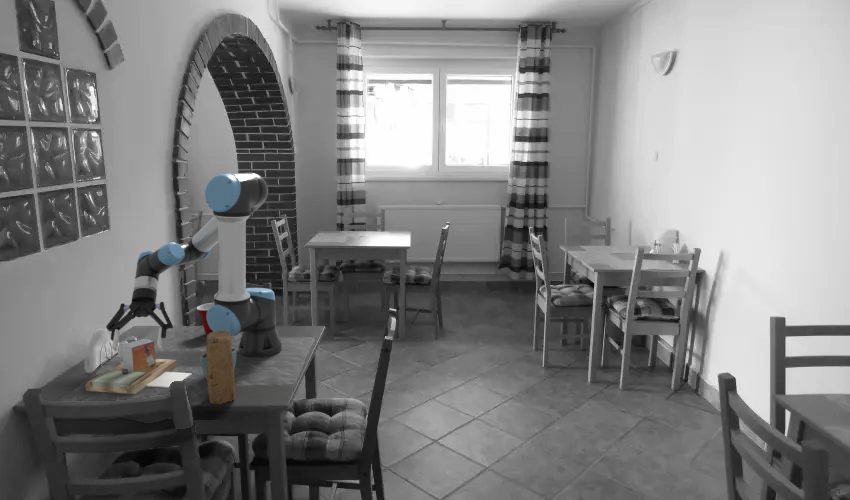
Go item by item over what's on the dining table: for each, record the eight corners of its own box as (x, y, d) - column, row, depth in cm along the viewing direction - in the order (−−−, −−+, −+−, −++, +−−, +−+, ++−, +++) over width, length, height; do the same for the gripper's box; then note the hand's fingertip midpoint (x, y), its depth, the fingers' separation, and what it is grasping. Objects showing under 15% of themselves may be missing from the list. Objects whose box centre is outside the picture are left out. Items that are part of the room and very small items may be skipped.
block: (236, 404, 168) (232, 337, 164) (208, 407, 165) (204, 340, 162) (234, 389, 178) (231, 326, 174) (208, 392, 175) (204, 329, 172)
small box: (133, 379, 185) (131, 347, 183) (123, 375, 188) (120, 344, 186) (157, 371, 192) (154, 340, 190) (146, 367, 194) (144, 337, 193)
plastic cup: (206, 329, 235) (205, 300, 233) (232, 330, 234) (230, 301, 232) (192, 337, 225) (190, 307, 223) (219, 339, 223) (217, 309, 221)
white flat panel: (191, 374, 189) (191, 373, 189) (173, 388, 178) (173, 387, 178) (166, 372, 190) (165, 371, 190) (146, 386, 179) (145, 385, 179)
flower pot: (212, 374, 190) (210, 347, 188) (238, 374, 189) (237, 348, 188) (201, 384, 181) (199, 357, 179) (229, 385, 181) (227, 358, 179)
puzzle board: (176, 365, 197) (175, 353, 196) (135, 393, 174) (133, 380, 173) (132, 363, 198) (131, 351, 198) (86, 390, 176) (84, 377, 175)
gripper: (185, 295, 208) (179, 350, 196) (109, 299, 203) (98, 355, 191) (181, 285, 202) (175, 340, 190) (102, 288, 197) (91, 345, 185)
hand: (137, 348), depth 191 cm, fingers open, 13 cm apart
